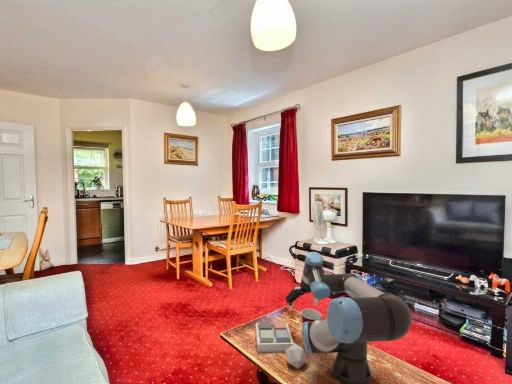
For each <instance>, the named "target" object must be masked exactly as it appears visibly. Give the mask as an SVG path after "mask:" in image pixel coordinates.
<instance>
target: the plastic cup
mask: <svg viewBox="0 0 512 384" xmlns="http://www.w3.org/2000/svg"><path fill="white" fill-rule="evenodd" d="M300 315H301V321H302V324H303V323H304V322H308V321H309V322H313V321H316V320H318V319H322V316H323V314H322V313H321V312H320V311H318V310H317V309H316V310H315V309H314V308H304V309H302V310H301V311H300Z"/></svg>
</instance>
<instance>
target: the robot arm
mask: <svg viewBox="0 0 512 384" xmlns="http://www.w3.org/2000/svg"><path fill="white" fill-rule="evenodd" d="M323 264H324V257H323V255H321V253H319V252H316V251H311V252H308V253H307V254H306V256H305V259H304V265H303V270H302V274H301V275H302V276H301V280H300V285H299V286H297V285H293V288H292V289H291V291H290V292H289V293H288V294H287V295H286V297H285V300H286V303H288V307H289V309H290V311H293V308H294V305H295V301H296V300H297V299H298V298H300V297H301V296H303V295H305V294H310V293H311V294H312V296H313V297H314V301H313V303H314V305H315V307H318V305H319V302H320V301H321V300H324V299H328V298H329V297H330V296H331V294H332V293H337V294H338V293H345V294H347V295H348V296H349V297H347V296H341V297H335V298H333V299H332V300H331V301H330V302H329V304H328V306H327V311H326V318H322V317H321V318H320V319H318V320H316V321H313V322H309V321H308V322H304V323H303V322H302V338H303V344H304V346H303V347H304V351H305V353H306V354H312V355H315V354H330V353H331V354H332V353H336V355H335V359H334V361H333V364H332V373H333V374H332V375H334V377H335V379H336V380H338V381H339V382H340V383H342V384H370V383H371V381H372V370H371V369H370V364H369V362H368V343H369V342H371V343H372V342H373V343H374V342H394V341H398V340H400V339H403V338H404V337H405V336H406V335H407V334H408V333H409V331H410V329H411V328H412V323H413V317H412V312H411V309H410V308H409V305H408V304H407V303H406V302H405V301H404V300H403V299H402V298H401V297H399V296H396V295H395V294H393V293H391V292H382V291H381V290H379V289H377V288H376V287H374V286H372V285H370V284H369V283H366V282H365V281H364V279H363V277H362V276H361V274H358V273H352V272H351V273H350V272H349V273H332V274H331V273H328V274H327V273H325V270H324V268H323Z"/></svg>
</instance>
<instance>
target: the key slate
mask: <svg viewBox="0 0 512 384" xmlns="http://www.w3.org/2000/svg"><path fill="white" fill-rule="evenodd" d="M275 336H276V341H277V343H289V334H288V331H287V330H275Z"/></svg>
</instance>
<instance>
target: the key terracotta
mask: <svg viewBox="0 0 512 384" xmlns="http://www.w3.org/2000/svg"><path fill="white" fill-rule="evenodd" d="M272 323H273V326H274V331H275V330H287V327H286V324H285V323H286V321H285V320H273V322H272Z"/></svg>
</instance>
